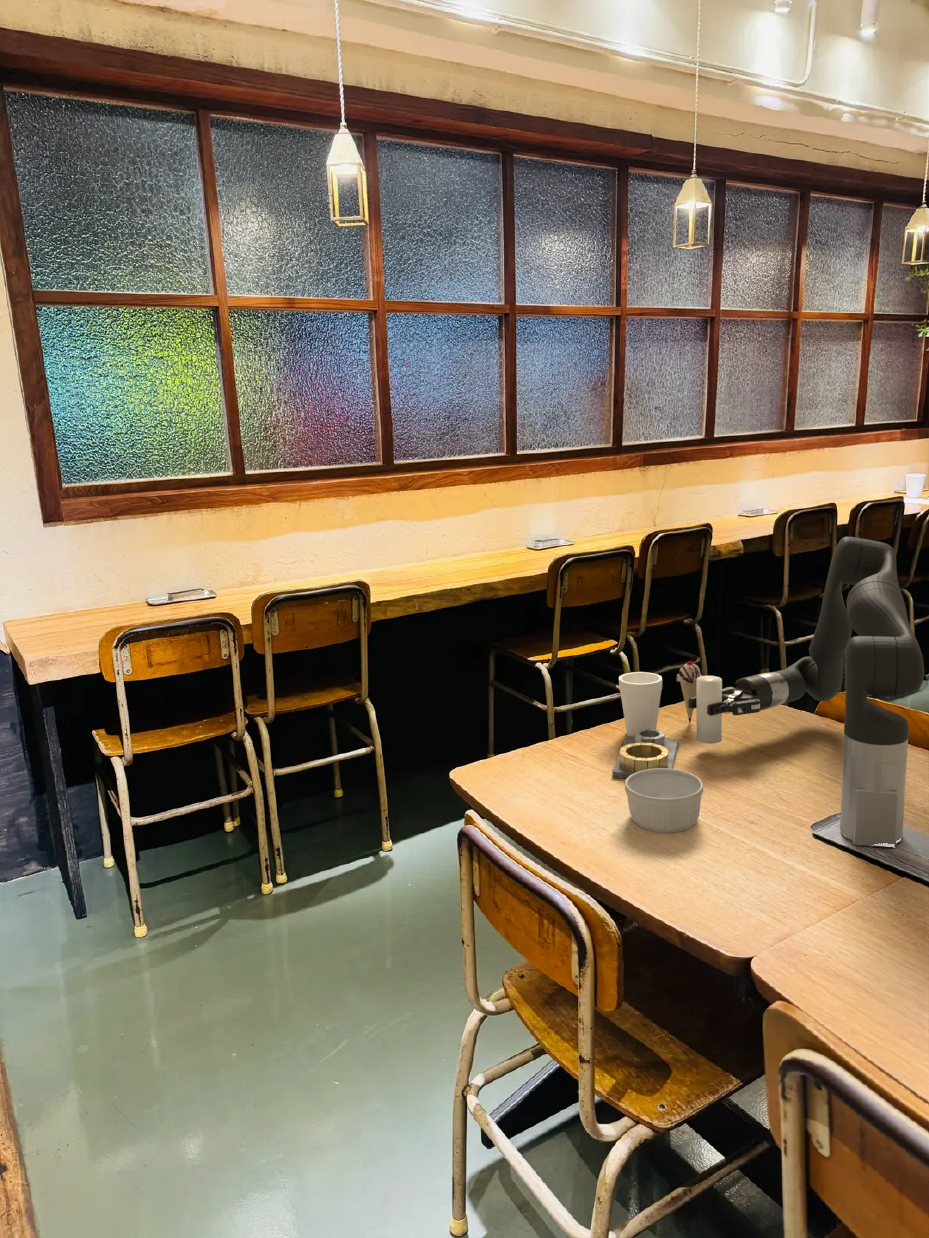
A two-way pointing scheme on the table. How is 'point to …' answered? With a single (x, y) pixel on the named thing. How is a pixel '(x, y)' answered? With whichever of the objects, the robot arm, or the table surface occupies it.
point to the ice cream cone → (689, 683)
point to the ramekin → (664, 799)
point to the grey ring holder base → (645, 753)
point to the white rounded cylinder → (706, 695)
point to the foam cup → (640, 700)
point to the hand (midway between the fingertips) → (699, 707)
